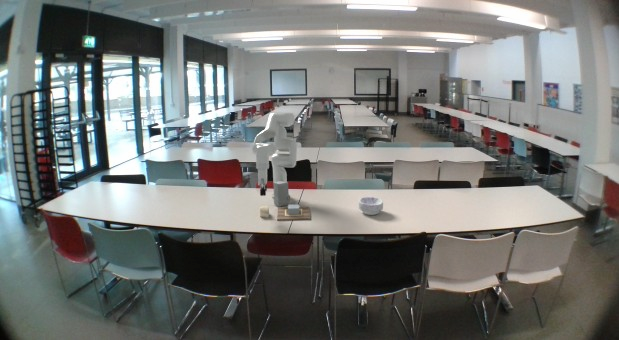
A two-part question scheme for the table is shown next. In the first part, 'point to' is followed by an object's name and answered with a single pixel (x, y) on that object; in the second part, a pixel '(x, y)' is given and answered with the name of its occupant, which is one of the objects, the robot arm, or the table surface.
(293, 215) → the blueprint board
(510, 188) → the table surface
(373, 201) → the paper bowls
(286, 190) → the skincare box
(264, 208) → the maple cube
